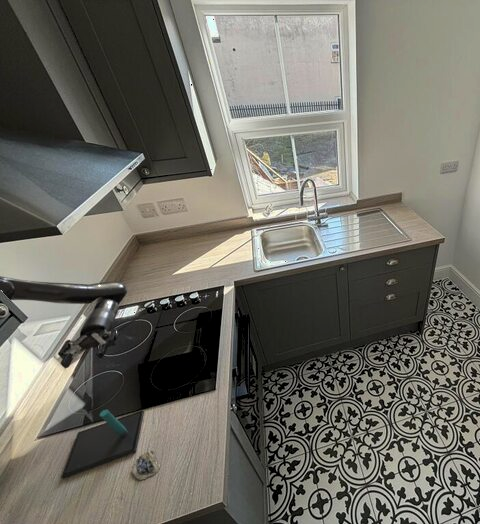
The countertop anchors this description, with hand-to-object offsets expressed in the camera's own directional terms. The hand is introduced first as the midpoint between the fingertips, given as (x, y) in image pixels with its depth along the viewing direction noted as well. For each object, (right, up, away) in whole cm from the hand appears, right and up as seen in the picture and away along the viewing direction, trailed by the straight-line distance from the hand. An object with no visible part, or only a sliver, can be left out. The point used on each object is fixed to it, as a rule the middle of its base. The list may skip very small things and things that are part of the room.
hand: (82, 361), depth 86 cm
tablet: (+5, -26, +2) cm, 26 cm away
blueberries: (+22, -29, -3) cm, 36 cm away
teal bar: (+10, -23, +3) cm, 26 cm away
